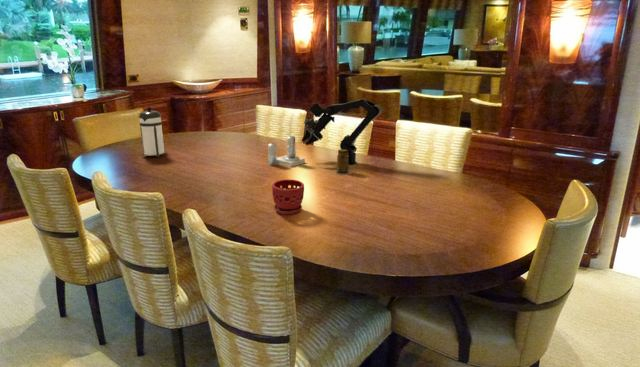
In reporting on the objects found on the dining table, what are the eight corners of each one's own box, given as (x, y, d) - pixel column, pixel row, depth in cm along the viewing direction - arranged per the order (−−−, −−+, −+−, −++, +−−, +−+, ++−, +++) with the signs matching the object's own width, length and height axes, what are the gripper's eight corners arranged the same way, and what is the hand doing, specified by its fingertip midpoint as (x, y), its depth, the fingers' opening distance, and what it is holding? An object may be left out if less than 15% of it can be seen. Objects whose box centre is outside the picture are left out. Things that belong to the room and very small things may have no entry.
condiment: (346, 169, 255) (346, 148, 251) (352, 173, 247) (352, 151, 244) (333, 170, 253) (333, 149, 249) (339, 175, 245) (340, 152, 241)
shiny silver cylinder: (297, 157, 266) (296, 137, 262) (290, 159, 263) (289, 138, 260) (292, 156, 270) (292, 135, 266) (285, 157, 267) (285, 136, 263)
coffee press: (172, 156, 283) (167, 107, 274) (145, 160, 275) (139, 109, 266) (163, 151, 297) (158, 103, 288) (137, 154, 289) (131, 105, 279)
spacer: (278, 164, 265) (278, 144, 261) (272, 166, 261) (272, 145, 258) (272, 163, 268) (272, 142, 264) (266, 165, 264) (266, 144, 261)
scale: (304, 162, 269) (304, 156, 268) (290, 166, 260) (290, 161, 259) (287, 158, 277) (286, 153, 276) (272, 162, 269) (272, 157, 268)
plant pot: (267, 214, 191) (266, 186, 188) (281, 204, 203) (280, 177, 199) (296, 218, 187) (296, 190, 183) (309, 207, 198) (308, 180, 195)
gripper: (308, 110, 271) (290, 130, 271) (316, 115, 254) (297, 137, 254) (321, 123, 275) (303, 143, 276) (330, 129, 258) (311, 150, 259)
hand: (303, 143), depth 266 cm, fingers open, 9 cm apart
